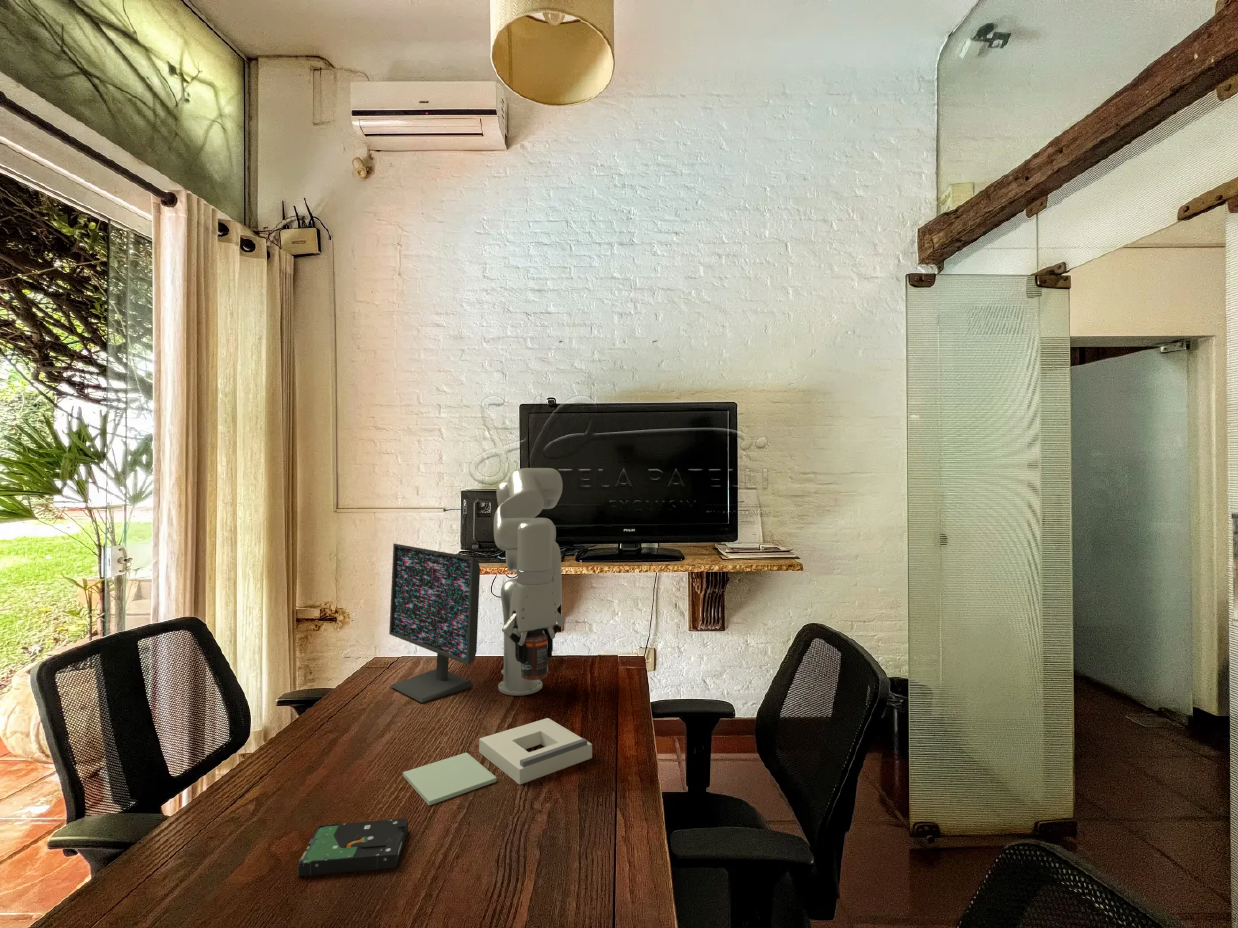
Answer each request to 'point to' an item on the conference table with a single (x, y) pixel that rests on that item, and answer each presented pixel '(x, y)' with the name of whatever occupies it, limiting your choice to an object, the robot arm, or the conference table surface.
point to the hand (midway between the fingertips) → (534, 658)
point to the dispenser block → (528, 766)
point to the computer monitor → (435, 614)
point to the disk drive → (354, 847)
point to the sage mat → (448, 778)
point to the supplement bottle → (535, 656)
